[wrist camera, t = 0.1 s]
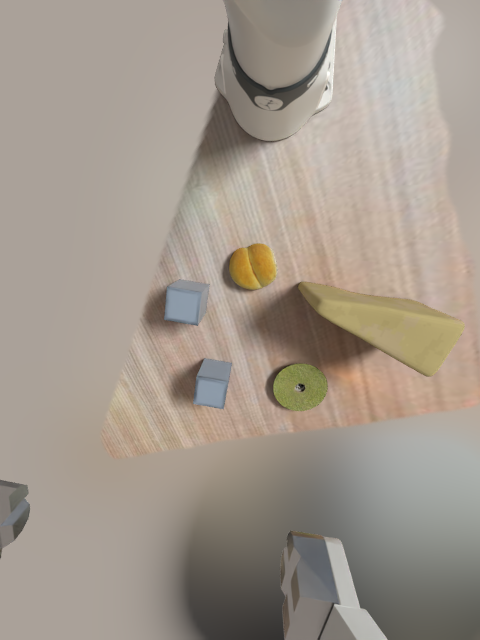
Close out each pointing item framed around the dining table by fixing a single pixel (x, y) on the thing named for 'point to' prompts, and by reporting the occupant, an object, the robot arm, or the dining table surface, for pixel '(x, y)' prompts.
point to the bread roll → (253, 266)
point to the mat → (300, 387)
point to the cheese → (389, 324)
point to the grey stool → (212, 383)
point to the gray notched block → (186, 302)
